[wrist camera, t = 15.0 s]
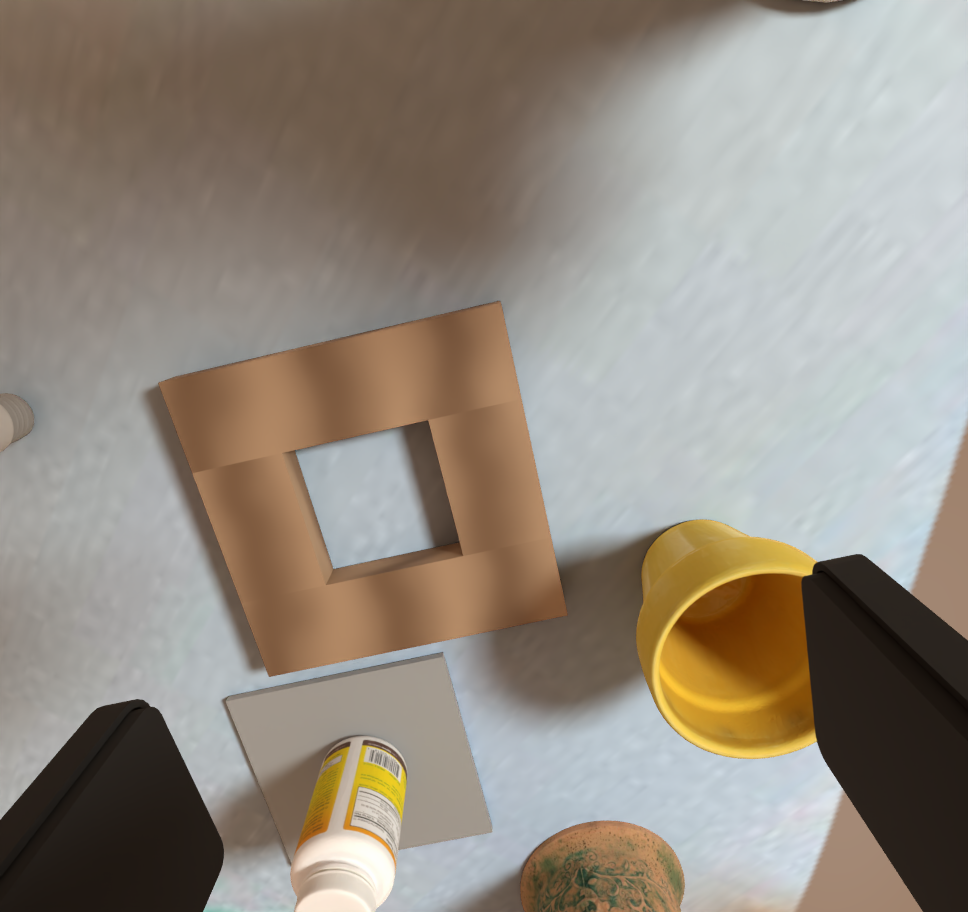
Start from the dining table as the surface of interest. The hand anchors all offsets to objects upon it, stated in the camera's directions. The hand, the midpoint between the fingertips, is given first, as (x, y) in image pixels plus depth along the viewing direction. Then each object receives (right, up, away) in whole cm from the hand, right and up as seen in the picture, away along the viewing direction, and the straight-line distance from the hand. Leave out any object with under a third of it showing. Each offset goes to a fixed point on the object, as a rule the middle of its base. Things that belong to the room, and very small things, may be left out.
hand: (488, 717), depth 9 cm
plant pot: (+13, -3, +29) cm, 32 cm away
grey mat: (-8, -17, +33) cm, 38 cm away
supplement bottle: (-8, -16, +32) cm, 37 cm away
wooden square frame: (-6, +2, +28) cm, 28 cm away
